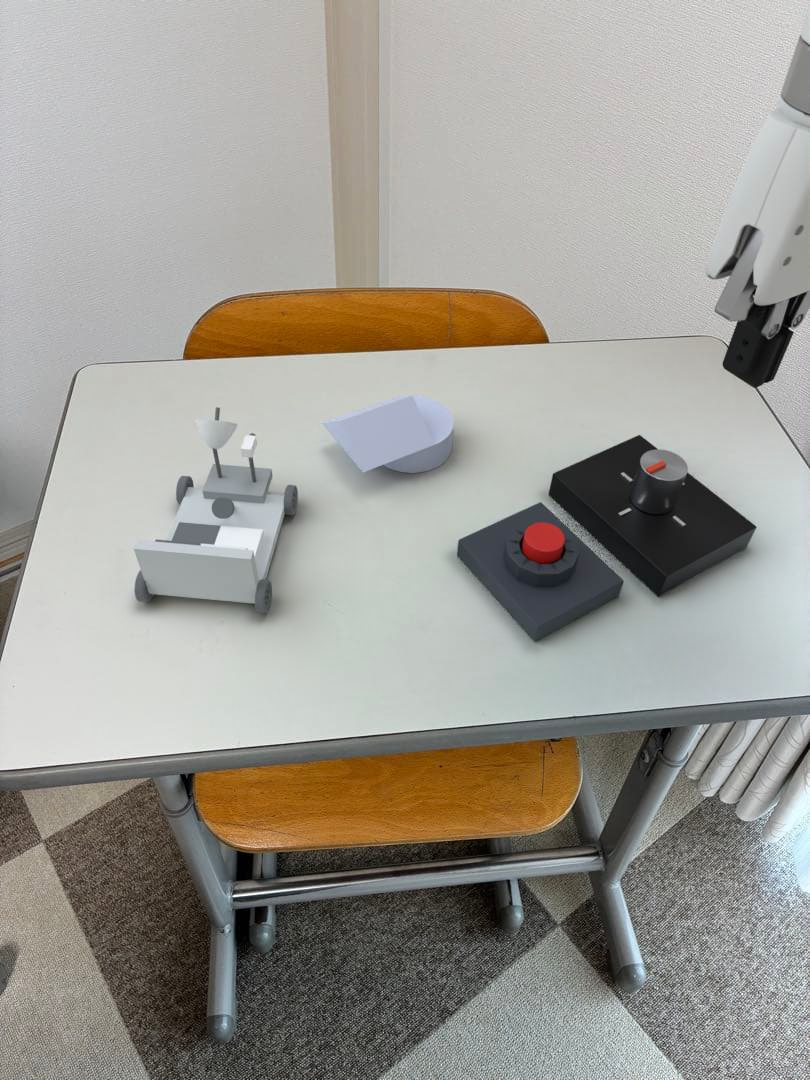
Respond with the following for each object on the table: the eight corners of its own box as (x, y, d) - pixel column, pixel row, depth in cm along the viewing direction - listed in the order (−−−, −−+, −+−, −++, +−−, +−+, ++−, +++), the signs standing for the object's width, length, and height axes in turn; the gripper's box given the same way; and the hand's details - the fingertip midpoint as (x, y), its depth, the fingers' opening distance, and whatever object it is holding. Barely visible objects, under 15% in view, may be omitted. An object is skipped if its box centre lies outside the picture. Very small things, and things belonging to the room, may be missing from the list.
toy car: (177, 398, 76) (296, 407, 76) (194, 474, 84) (303, 483, 83) (112, 533, 64) (253, 545, 64) (138, 608, 71) (266, 620, 71)
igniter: (619, 596, 74) (629, 567, 71) (534, 642, 70) (541, 614, 67) (537, 517, 80) (543, 488, 78) (456, 555, 77) (459, 526, 74)
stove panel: (746, 547, 78) (757, 525, 76) (658, 597, 74) (667, 575, 71) (633, 455, 87) (640, 433, 85) (548, 494, 83) (552, 472, 80)
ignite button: (569, 554, 72) (573, 541, 71) (538, 570, 71) (541, 557, 70) (544, 530, 74) (547, 516, 73) (514, 544, 73) (516, 531, 72)
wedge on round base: (363, 496, 82) (467, 455, 87) (362, 446, 77) (472, 405, 82) (323, 447, 87) (423, 410, 92) (319, 397, 82) (425, 361, 87)
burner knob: (652, 478, 80) (665, 441, 77) (684, 504, 78) (698, 467, 74) (620, 493, 79) (631, 456, 75) (651, 520, 76) (664, 483, 73)
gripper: (884, 45, 47) (774, 320, 60) (708, 86, 41) (629, 380, 55) (1007, 82, 43) (860, 369, 56) (830, 134, 37) (712, 440, 50)
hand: (746, 374), depth 55 cm, fingers closed
